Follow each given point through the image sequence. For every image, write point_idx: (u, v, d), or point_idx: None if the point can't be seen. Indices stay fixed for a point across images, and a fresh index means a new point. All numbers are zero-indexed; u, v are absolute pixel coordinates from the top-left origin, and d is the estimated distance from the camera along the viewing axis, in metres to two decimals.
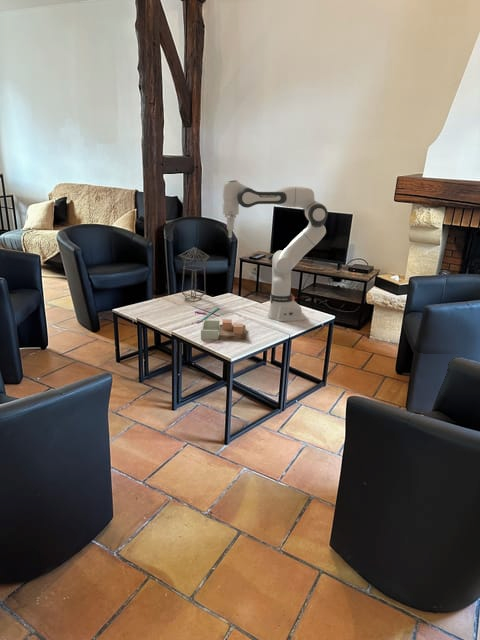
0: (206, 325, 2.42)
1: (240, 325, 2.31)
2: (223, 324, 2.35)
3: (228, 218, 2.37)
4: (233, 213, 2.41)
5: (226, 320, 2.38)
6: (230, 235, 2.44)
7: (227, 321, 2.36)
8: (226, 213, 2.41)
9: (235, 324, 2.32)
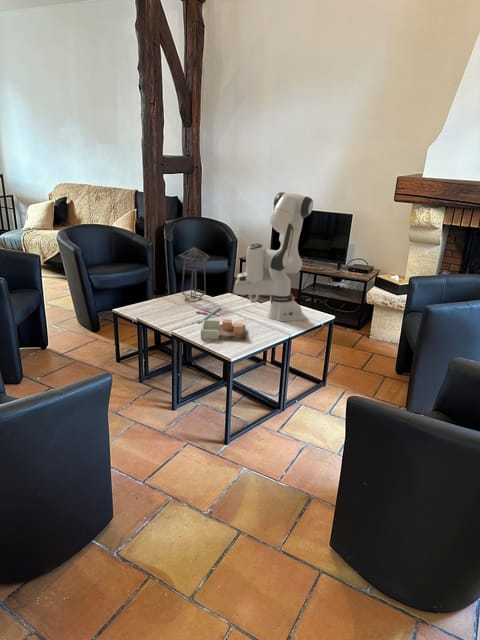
0: (206, 325, 2.42)
1: (240, 325, 2.31)
2: (223, 324, 2.35)
3: (272, 283, 2.23)
4: None
5: (226, 320, 2.38)
6: None
7: (227, 321, 2.36)
8: (261, 279, 2.21)
9: (235, 324, 2.32)
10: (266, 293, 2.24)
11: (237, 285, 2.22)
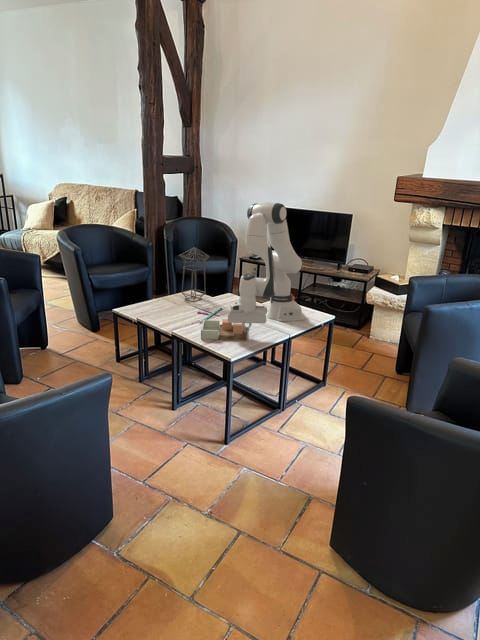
0: (206, 325, 2.42)
1: (239, 325, 2.31)
2: (223, 324, 2.35)
3: (265, 311, 2.28)
4: None
5: (226, 320, 2.38)
6: None
7: (227, 321, 2.36)
8: (254, 308, 2.26)
9: (235, 324, 2.32)
10: (259, 321, 2.29)
11: (230, 314, 2.27)
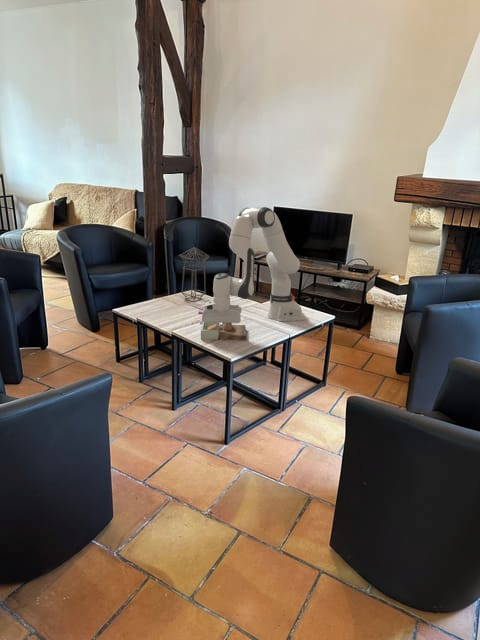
0: (206, 325, 2.42)
1: (213, 327, 2.30)
2: (223, 324, 2.35)
3: (239, 311, 2.28)
4: None
5: None
6: (223, 327, 2.32)
7: None
8: (228, 308, 2.26)
9: (209, 327, 2.32)
10: (233, 321, 2.29)
11: (204, 313, 2.27)
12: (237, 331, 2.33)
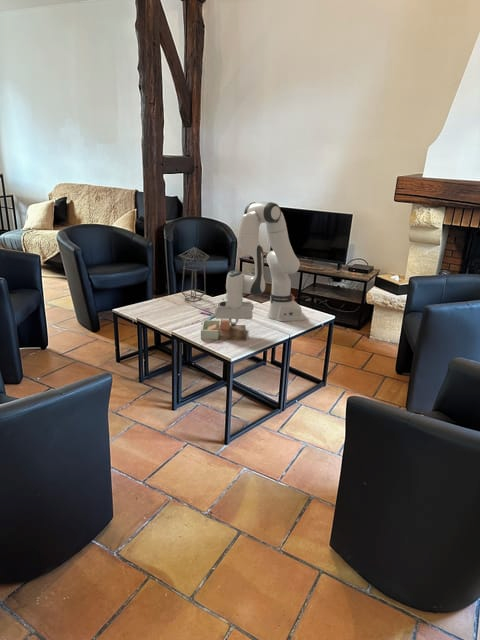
0: (206, 325, 2.42)
1: (213, 327, 2.30)
2: (221, 324, 2.35)
3: (251, 307, 2.33)
4: None
5: (224, 320, 2.38)
6: (236, 323, 2.38)
7: (225, 321, 2.36)
8: (241, 304, 2.32)
9: (209, 327, 2.32)
10: (245, 317, 2.34)
11: (217, 310, 2.32)
12: (237, 331, 2.33)
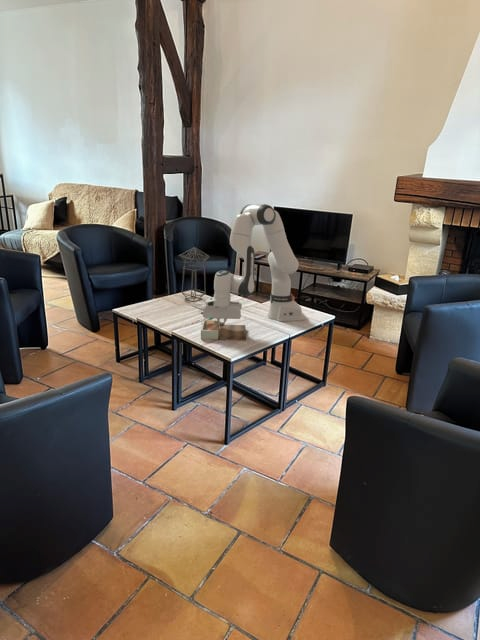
0: (206, 325, 2.42)
1: (213, 327, 2.30)
2: None
3: (239, 307, 2.33)
4: None
5: None
6: (224, 323, 2.38)
7: None
8: (229, 304, 2.32)
9: (209, 327, 2.32)
10: (234, 317, 2.34)
11: (205, 309, 2.33)
12: (237, 331, 2.33)
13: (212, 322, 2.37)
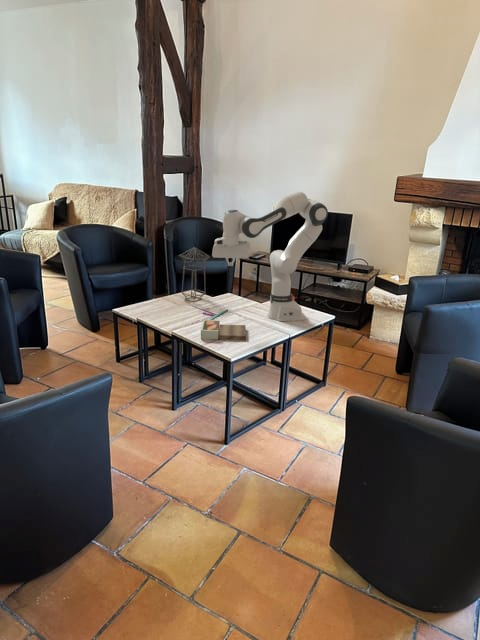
0: (206, 325, 2.42)
1: (213, 327, 2.30)
2: None
3: (247, 246, 2.39)
4: None
5: None
6: None
7: None
8: (237, 243, 2.37)
9: (209, 327, 2.32)
10: (242, 256, 2.40)
11: (215, 248, 2.38)
12: (237, 331, 2.33)
13: (212, 322, 2.37)
